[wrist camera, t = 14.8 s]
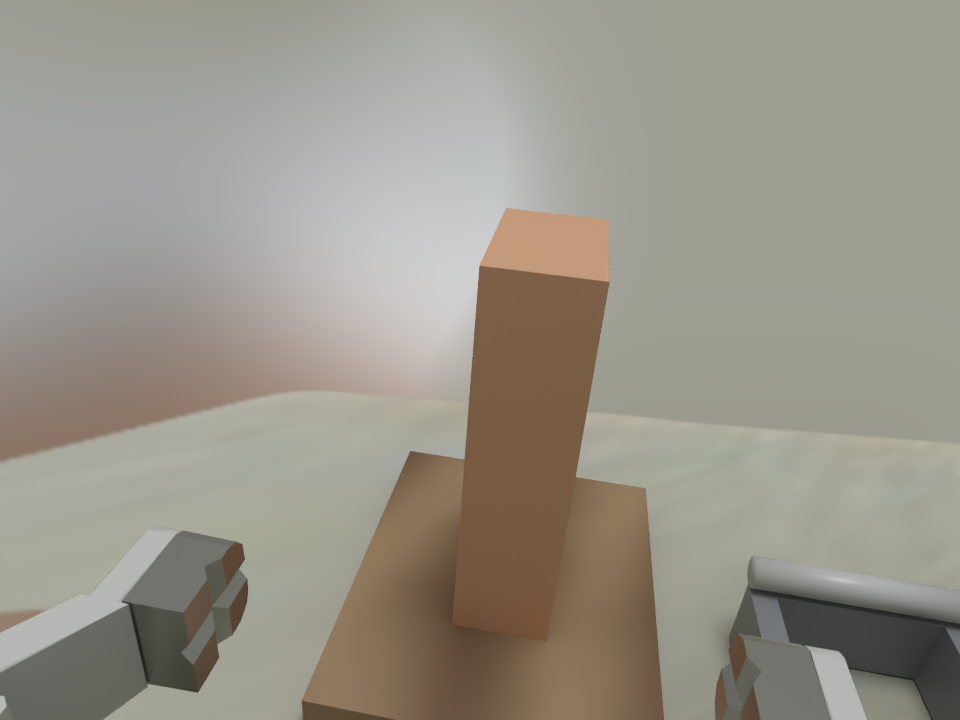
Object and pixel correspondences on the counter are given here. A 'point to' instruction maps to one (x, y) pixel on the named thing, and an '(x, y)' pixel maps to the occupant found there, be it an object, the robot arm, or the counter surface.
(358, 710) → the pad
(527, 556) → the tan rectangular prism
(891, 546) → the counter surface
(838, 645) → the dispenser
